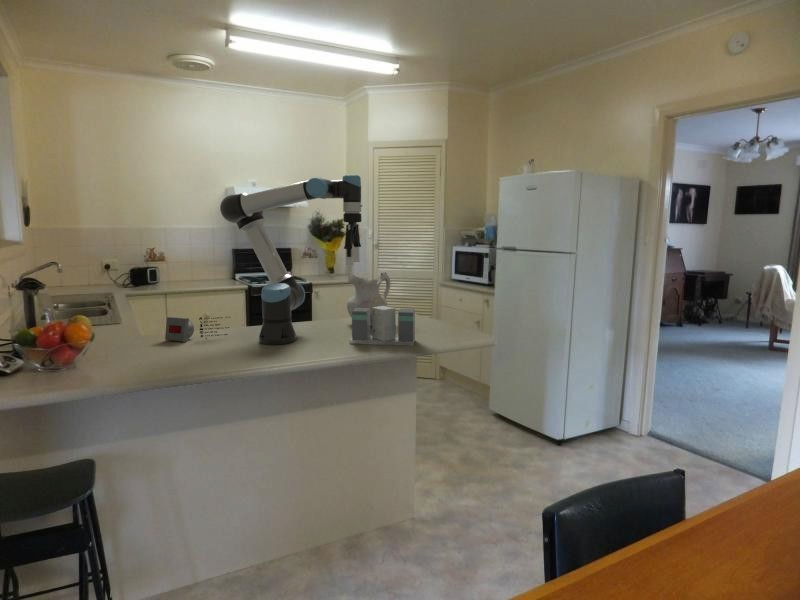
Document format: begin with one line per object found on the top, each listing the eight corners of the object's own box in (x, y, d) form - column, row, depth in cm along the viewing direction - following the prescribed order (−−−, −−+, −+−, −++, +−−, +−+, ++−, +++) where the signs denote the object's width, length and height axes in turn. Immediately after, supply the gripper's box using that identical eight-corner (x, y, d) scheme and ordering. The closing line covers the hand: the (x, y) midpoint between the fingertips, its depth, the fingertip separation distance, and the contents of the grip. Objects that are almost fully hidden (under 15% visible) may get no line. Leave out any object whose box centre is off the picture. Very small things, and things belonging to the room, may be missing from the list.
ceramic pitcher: (376, 319, 263) (373, 271, 260) (400, 323, 248) (397, 271, 245) (340, 325, 249) (337, 274, 247) (363, 329, 234) (360, 275, 232)
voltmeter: (163, 344, 209) (161, 320, 207) (167, 338, 219) (165, 315, 218) (231, 339, 216) (230, 316, 215) (232, 334, 227) (230, 312, 226)
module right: (398, 341, 207) (398, 312, 205) (400, 336, 215) (400, 308, 213) (413, 341, 207) (413, 312, 205) (414, 337, 215) (415, 309, 213)
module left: (352, 340, 209) (351, 311, 208) (356, 335, 218) (355, 307, 216) (366, 340, 209) (366, 311, 207) (370, 335, 217) (370, 308, 215)
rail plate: (349, 343, 210) (349, 340, 209) (354, 338, 218) (354, 335, 218) (412, 345, 207) (412, 342, 206) (414, 340, 215) (414, 336, 215)
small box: (395, 339, 211) (395, 308, 209) (383, 341, 207) (383, 309, 205) (383, 335, 217) (383, 305, 215) (371, 337, 213) (371, 307, 211)
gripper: (355, 212, 202) (355, 266, 205) (366, 212, 226) (367, 260, 230) (336, 212, 203) (337, 266, 206) (349, 212, 227) (350, 260, 230)
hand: (353, 263), depth 218 cm, fingers open, 13 cm apart
